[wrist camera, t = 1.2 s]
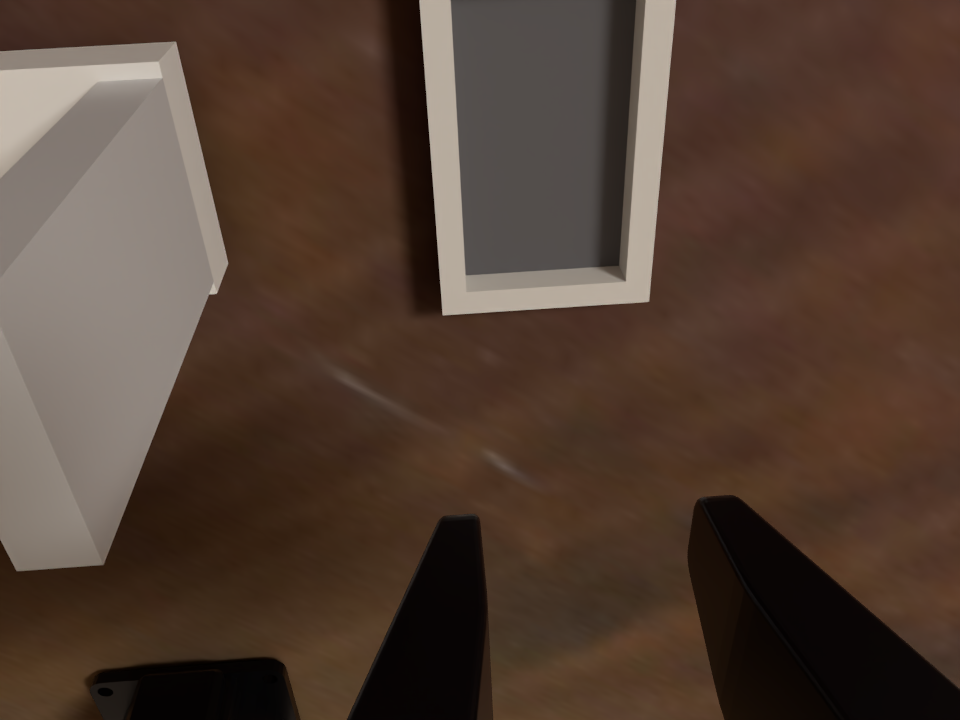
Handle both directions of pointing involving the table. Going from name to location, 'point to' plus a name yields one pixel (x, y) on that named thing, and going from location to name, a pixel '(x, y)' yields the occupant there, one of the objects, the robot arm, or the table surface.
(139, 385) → the white l-shaped base
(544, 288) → the tray
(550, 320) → the table surface
